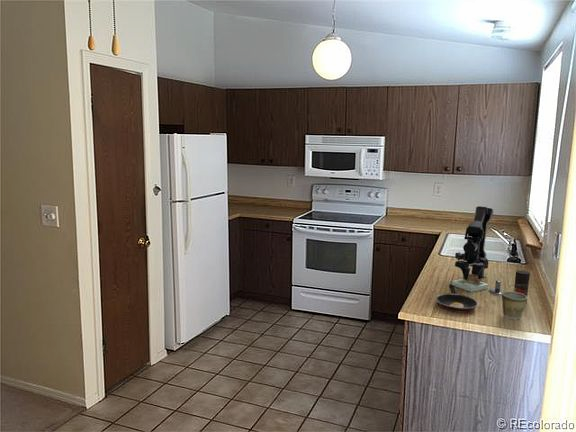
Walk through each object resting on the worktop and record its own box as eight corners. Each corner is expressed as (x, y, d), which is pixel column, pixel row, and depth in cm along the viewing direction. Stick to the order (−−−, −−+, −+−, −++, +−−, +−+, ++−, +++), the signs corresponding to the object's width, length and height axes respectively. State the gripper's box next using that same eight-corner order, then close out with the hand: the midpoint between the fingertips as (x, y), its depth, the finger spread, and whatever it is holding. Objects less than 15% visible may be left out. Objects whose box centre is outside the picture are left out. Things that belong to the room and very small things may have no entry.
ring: (469, 278, 251) (469, 272, 250) (483, 283, 243) (483, 277, 243) (460, 280, 247) (460, 274, 247) (473, 285, 240) (474, 279, 239)
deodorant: (509, 300, 228) (513, 270, 225) (519, 299, 230) (522, 269, 227) (519, 305, 222) (523, 274, 220) (529, 303, 224) (532, 273, 222)
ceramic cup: (517, 323, 201) (519, 300, 199) (495, 315, 209) (497, 294, 207) (532, 316, 209) (535, 295, 207) (510, 309, 217) (513, 288, 215)
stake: (495, 288, 245) (496, 277, 244) (509, 293, 238) (511, 282, 236) (484, 291, 241) (485, 280, 240) (498, 296, 234) (500, 284, 232)
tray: (468, 282, 255) (468, 277, 254) (487, 289, 244) (488, 284, 244) (451, 285, 249) (452, 280, 249) (471, 292, 238) (471, 287, 238)
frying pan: (436, 312, 212) (437, 304, 212) (431, 289, 243) (431, 282, 242) (481, 316, 208) (482, 308, 208) (469, 292, 239) (470, 285, 239)
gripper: (472, 244, 254) (470, 272, 257) (447, 248, 246) (445, 277, 248) (490, 249, 245) (487, 278, 248) (465, 253, 236) (462, 283, 239)
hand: (470, 278), depth 246 cm, fingers closed on ring, 7 cm apart
